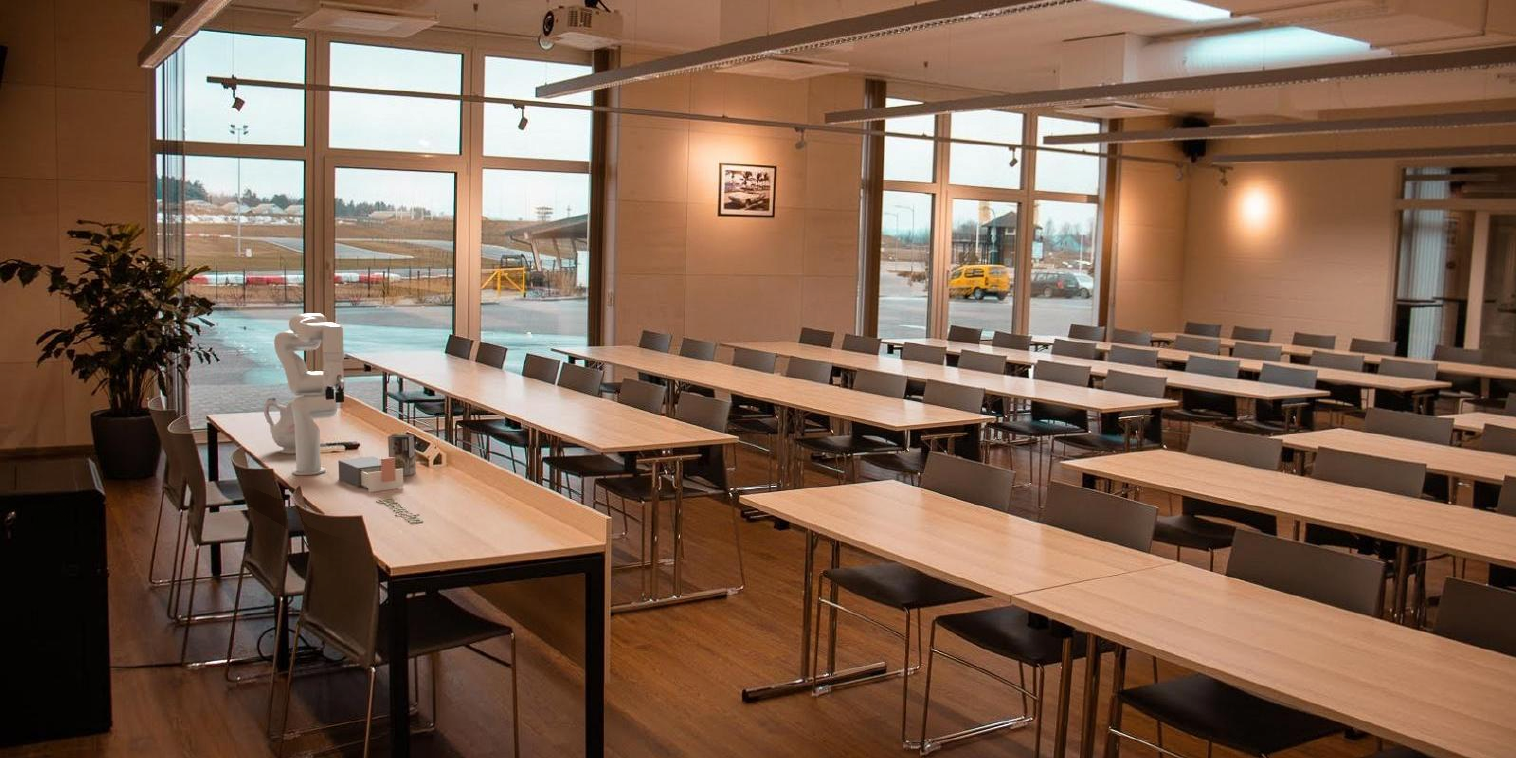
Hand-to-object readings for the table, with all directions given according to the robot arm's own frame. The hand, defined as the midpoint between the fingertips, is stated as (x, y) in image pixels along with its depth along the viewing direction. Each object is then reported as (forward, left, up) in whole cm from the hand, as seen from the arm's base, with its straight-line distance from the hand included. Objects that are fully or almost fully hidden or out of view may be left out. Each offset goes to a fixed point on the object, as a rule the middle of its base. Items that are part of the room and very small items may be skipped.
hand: (334, 400), depth 465 cm
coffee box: (-5, +29, -34) cm, 45 cm away
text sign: (+55, +1, -34) cm, 65 cm away
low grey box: (+1, +11, -33) cm, 35 cm away
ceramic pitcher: (-79, +11, -34) cm, 87 cm away
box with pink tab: (+13, +11, -33) cm, 37 cm away
